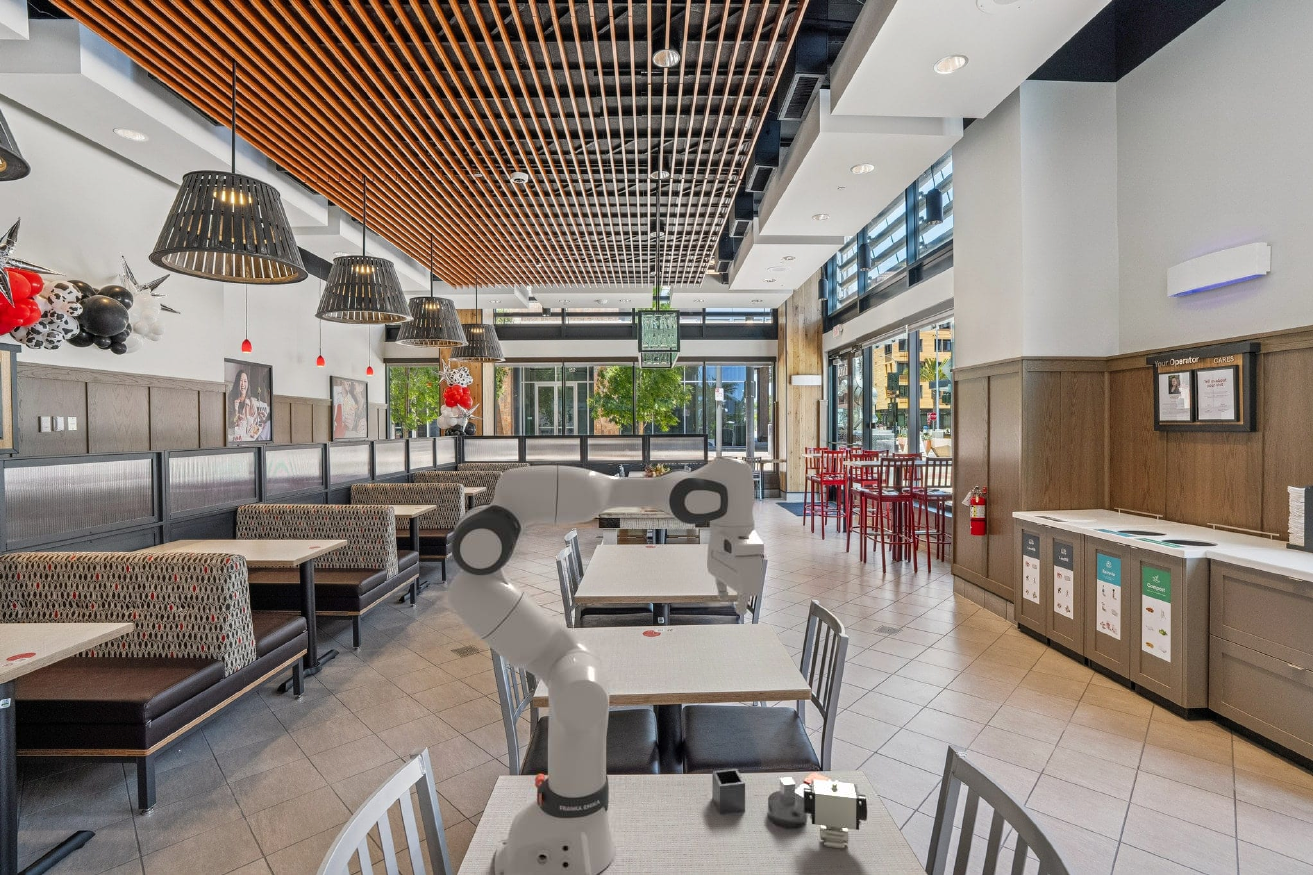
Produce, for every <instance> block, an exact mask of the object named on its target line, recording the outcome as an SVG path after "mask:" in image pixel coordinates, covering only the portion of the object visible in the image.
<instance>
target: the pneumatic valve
mask: <svg viewBox="0 0 1313 875" xmlns="http://www.w3.org/2000/svg"><path fill="white" fill-rule="evenodd" d="M809 787H810V788H811V789H810V788H804V791H803V803H804V813H807V815H809V819H811V825H816V826H820V827H819V834H820V835H819V837H820V838H819V839H820V840H821V841H824V842H823V845H824V846H826V848H835V849H841V850H844V849H845V848H846V844H849V841H850V840H849V838H850V837H849V830H856V831H860V825H862V821H864V822H866V821H867V820H868V804H867V798H866V794H862V793H861V794H860V790H859V789H858V784H855V783H846V782H839V780H835V781H832V780H831V779H829V780H828V781H821V780H812V779H811V784H809Z"/></svg>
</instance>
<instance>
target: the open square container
mask: <svg viewBox="0 0 1313 875" xmlns="http://www.w3.org/2000/svg"><path fill="white" fill-rule="evenodd" d="M711 772H712V776H711V777H712V778H711V780H712V788H711V789H712V792H711V793H712V794H711V795H712V796H711V797H712V801H713V803H714V806H715V807H716V809H717V811H718V813H719V815H726V814H733V813H740V812H741V813H742V812H746V782H745V781H744V779H743V777H742V776H741V773H740V772H739V770H738V768H731V769H724V770H723V769H722V770H713V771H711Z"/></svg>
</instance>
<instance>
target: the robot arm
mask: <svg viewBox="0 0 1313 875" xmlns="http://www.w3.org/2000/svg"><path fill="white" fill-rule="evenodd" d="M753 472H754V471H753V469H752V466H751V465H750V464H749V463H748V462H747V461H745V460H742V459H738V458H734V457H733V458H732V457H728V456H727V457H726V456H716V457H714V458H713V459H712V460H711V461H710V462H708V463H707V464H705V465H703V466H701V467H699V468H698V469H695V470H693V471H688V470H687V469H682V468H681V469H680V468H677V469H676V468H674V469H671V470H668V471H665V472H663V473H660V474H658V475H656V476H642V477H641V476H613V475H608V474H604V473H602V472H598V471H595V470H591V469H588V468H587V469H586V468H583V467H577V466H570V465H554V464H553V465H551V464H549V465H545V464H544V465H530V466H529V465H528V466H520V467H514V468H510V469H509V468H508V469H507V470H505V471H504V472H502V474H500V477H499V478H498V480H497V481H496V483H495V484H496V485H495V487H494V496H493V500H492V502H487V503H480V504H477V505H475V506H472V507H471V508H469V509H468V510H467V511H466V512H465V513H464V514H463V515H462V516H461V517H460V518H459V520H458V521H457V523H456V525H455V527H454V530H453V533H452V536H451V539H450V550H451V555H452V559H453V560H454V561H455V563H456V565H457V566H458V567H459V568H460V570H459V572H458V573H457V574H456V575H455V576H454V578H453V579H452V580H451V583H450V584H449V587H448V591H447V596H446V597H447V601H448V603H449V605H450V606H451V608H452V609H453V610H454V612H455V614H457V616H458V617H459V618H460V619H461V620H462V622H463V623H464V624H465V625H466V626H467V627H468V628H469V629H470V630H471V631H472V632H473V633H474V635H476V636H477V637H478V638H479V639H481V640H482V641H483V642H484V643H485V644H487V646H488V647H489V648H491V649H492V650H493V651H494V652H496V653H497V654H498V655H499V656H500V657H501V658H502V659H503V660H505V661H506V662H507V663H508V664H509V665H510V666H513V667H514V668H520V669H522V670H524V671H526V672H528V673H530V674H532V675H533V676H535V677H537V678H538V679H539V680H540V681H542V683H543V684H544V685H545V686H546V688H547V693H548V694H547V698H548V724H547V725H548V730H547V731H548V732H547V733H548V734H547V736H548V737H547V778H546V775H545V774H543V773H538V774H536V776H535V779H534V781H535V783H534V786H535V788H537V790H536V799H535V800H534V801H532V802H531V803H529V805H527V806H526V807H525V808H524V809H521V811H519V812H518V813H517V814H516V815H515V816H514V818H513V820H512V823H511V824H510V828H509V832H508V833H507V834H506V835H505V836H504V837H503V838H502V839H501V841H499V843H498V846H497V848H496V851H495V855H494V857H495V858H494V867H493V868H494V875H598V874H600V873H601V872H603V871H604V870H605V869H606V868H607V867H608V866H609V865H610V863H612V861H613V859H614V856H615V851H616V850H615V849H616V848H615V843H614V841H613V837H612V833H611V827H610V823H609V814H608V810H609V804H610V782H609V779H608V778H609V777H608V774H607V732H608V725H609V715H610V714H609V713H610V696H611V695H610V691H611V690H610V684H609V681H608V680H609V679H608V677H607V674H606V670H605V668H604V665H603V661H602V658H601V656H600V653H599V651H598V650H597V649H596V648H595V646H594V645H592V644H591V643H590V642H589V641H588V640H586V639H585V638H583V637H582V636H580V635H579V634H577V633H575V632H574V630H572V629H570V628H568V627H567V626H566V625H564V624H563V623H561V622H560V621H558V620H557V619H555V617H553V616H551V615H550V614H549V612H547V611H546V610H544V608H542V607H541V606H540V605H539V604H538V603H537V602H536V601H535V600H534V599H532V598H531V597H530V596H529V595H528V594H526V593H525V591H523V590H522V589H521V588H520V587H519V586H518V585H516V584H515V583H514V582H513V581H512V579H510V577H508V575H507V573H506V572H505V570H504V566H506V564H508V562H509V561H510V559H511V557H512V555H513V554H514V551H515V549H516V545H517V541H518V540H519V537H520V534H521V531H522V529H523V528H524V527H527V526H531V525H573V524H580V523H585V522H586V523H587V522H591V521H593V520H594V519H595V518H596V517H597V516H599V515H600V514H603V513H604V512H606V511H608V510H611V509H616V508H652V509H657V510H660V512H661V511H662V512H663V513H664V514H667V515H669V516H671V517H672V518H674V519H675V520H677V521H678V522H681V523H683V524H686V525H697V524H702V523H706V522H707V523H708V522H709V542H708V545H707V560H706V567H707V573H709V574H710V575H711V576H712V577H714V578H715V579H714V580H715V585H716V589H717V598H718V600H720V601H721V602H726V601H728V600H729V591H728V588H730V589H732V590H733V591H734V592H736V597H737V602H736V603H735V609H734V611H735V612H736V614H738V615H739V616H744V615H747V613H748V612H747V611H748V604H749V601H750V599H751V597H757V596H759V595H760V593H761V590H762V586H763V584H762V583H763V559H762V556H761V555H764V553H765V544H764V542H763V541H762V540H761V538H760V537H759V536H758V533H757V531H756V530H755V519H754V515H753V514H754V513H753V510H754V505H755V500H756V499H755V497H756V496H755V483H754V482H755V480H754V479H755V478H754V473H753Z"/></svg>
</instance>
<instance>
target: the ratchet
mask: <svg viewBox="0 0 1313 875" xmlns="http://www.w3.org/2000/svg"><path fill="white" fill-rule="evenodd" d="M811 779H812V780H821V781H828V780H830V778H828V777H826V776H823V775H821V774H819V773H816V772H812V773H810V774H809V775H808V776H807V777H805V779H803V783H802V784H800V785H799V787H797V788H796V783H795V781H794V780H793V779H792V777H791V776H789V777H780V778H779V790H778V791H774V792H772V793H770V795H768V798H767V816H768V818H769V820H770V821H771V822H772V823H773V824H774V825H776V826H778V827H779V828H784V829H788V830H789V829H790V830H792V829H794V830H795V829H796V830H797V829H799V828H802V827H804V825H806V823H807V821H808V814H807V813H804V803H803V791H804V788H810V787H809V784H811ZM810 789H811V788H810Z"/></svg>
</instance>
